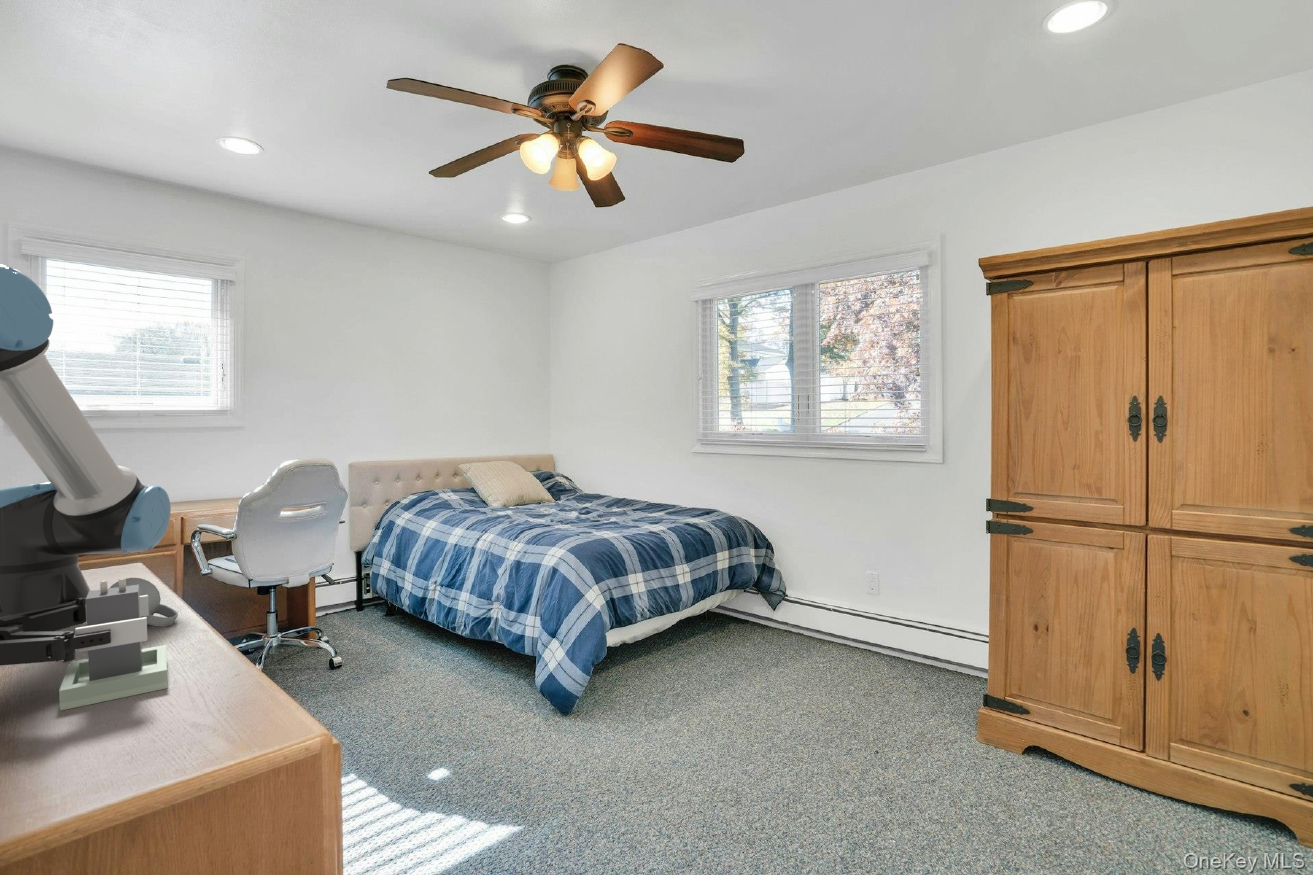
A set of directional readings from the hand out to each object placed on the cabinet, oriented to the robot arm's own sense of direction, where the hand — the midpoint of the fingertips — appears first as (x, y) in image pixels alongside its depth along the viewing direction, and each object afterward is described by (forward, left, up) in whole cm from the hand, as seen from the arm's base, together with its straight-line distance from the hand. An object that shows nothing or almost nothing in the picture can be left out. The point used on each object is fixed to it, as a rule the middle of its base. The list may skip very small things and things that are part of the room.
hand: (148, 615), depth 86 cm
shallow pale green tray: (0, -3, -8) cm, 9 cm away
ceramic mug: (-29, -2, -8) cm, 30 cm away
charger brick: (0, -3, -7) cm, 8 cm away
